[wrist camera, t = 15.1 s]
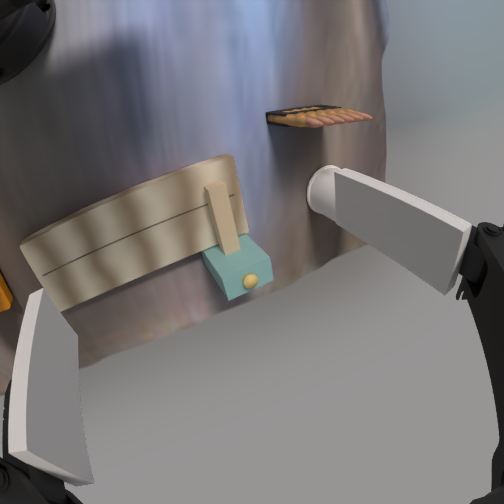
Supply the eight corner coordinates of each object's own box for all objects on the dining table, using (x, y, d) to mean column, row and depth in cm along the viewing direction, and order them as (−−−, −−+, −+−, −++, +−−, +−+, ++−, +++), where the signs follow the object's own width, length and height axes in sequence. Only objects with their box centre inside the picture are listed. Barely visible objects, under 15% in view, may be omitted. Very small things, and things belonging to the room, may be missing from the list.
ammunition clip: (266, 124, 39) (317, 133, 30) (265, 112, 38) (316, 118, 29) (322, 115, 43) (376, 124, 33) (321, 104, 42) (376, 111, 32)
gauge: (205, 264, 46) (231, 304, 38) (180, 185, 38) (203, 210, 30) (243, 248, 48) (276, 282, 40) (226, 169, 40) (261, 189, 32)
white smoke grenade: (296, 191, 47) (387, 241, 32) (330, 154, 47) (425, 189, 31) (324, 225, 54) (403, 278, 39) (353, 191, 54) (435, 233, 38)
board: (61, 302, 37) (60, 312, 35) (23, 238, 30) (19, 246, 28) (241, 225, 46) (248, 231, 44) (226, 153, 39) (233, 156, 37)
